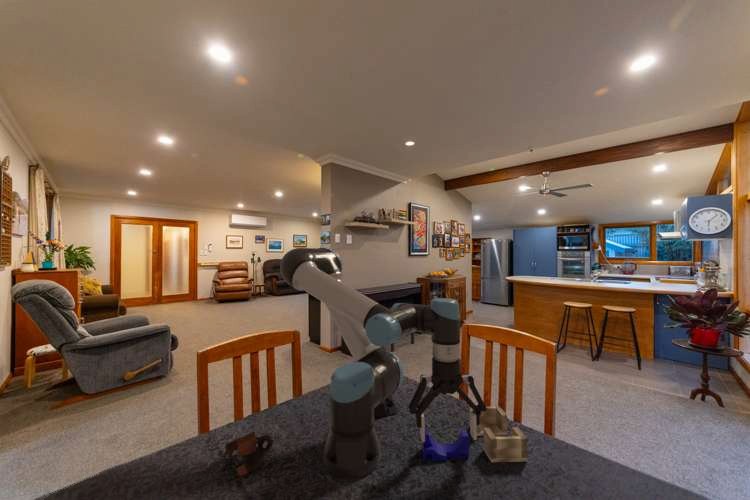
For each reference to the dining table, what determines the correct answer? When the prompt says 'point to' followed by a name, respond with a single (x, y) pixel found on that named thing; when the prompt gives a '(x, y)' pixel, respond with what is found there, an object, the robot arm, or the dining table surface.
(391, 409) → the dark slate chunk
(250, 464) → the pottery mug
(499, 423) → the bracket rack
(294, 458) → the dining table surface
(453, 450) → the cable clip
